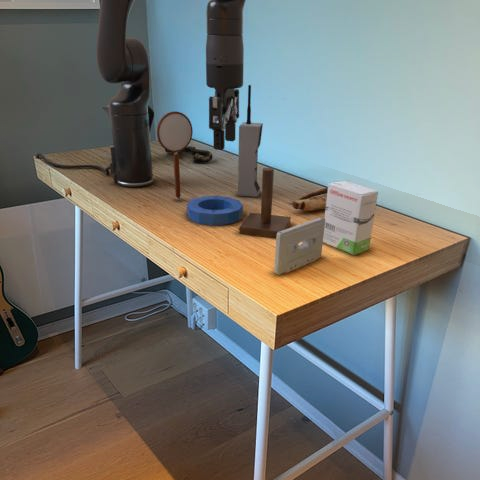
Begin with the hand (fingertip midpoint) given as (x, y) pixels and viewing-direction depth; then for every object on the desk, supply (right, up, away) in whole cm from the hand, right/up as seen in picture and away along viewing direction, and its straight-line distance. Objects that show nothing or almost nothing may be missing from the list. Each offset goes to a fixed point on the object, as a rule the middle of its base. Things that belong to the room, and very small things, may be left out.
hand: (224, 145), depth 107 cm
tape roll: (-2, -15, +3) cm, 15 cm away
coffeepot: (-29, +11, +43) cm, 53 cm away
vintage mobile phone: (+6, -7, +17) cm, 19 cm away
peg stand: (+9, -19, -3) cm, 21 cm away
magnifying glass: (-12, -9, +12) cm, 19 cm away
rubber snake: (-13, +12, +46) cm, 49 cm away
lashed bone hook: (+22, -11, +10) cm, 27 cm away
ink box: (+24, -23, -10) cm, 35 cm away
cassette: (+14, -28, -17) cm, 36 cm away
